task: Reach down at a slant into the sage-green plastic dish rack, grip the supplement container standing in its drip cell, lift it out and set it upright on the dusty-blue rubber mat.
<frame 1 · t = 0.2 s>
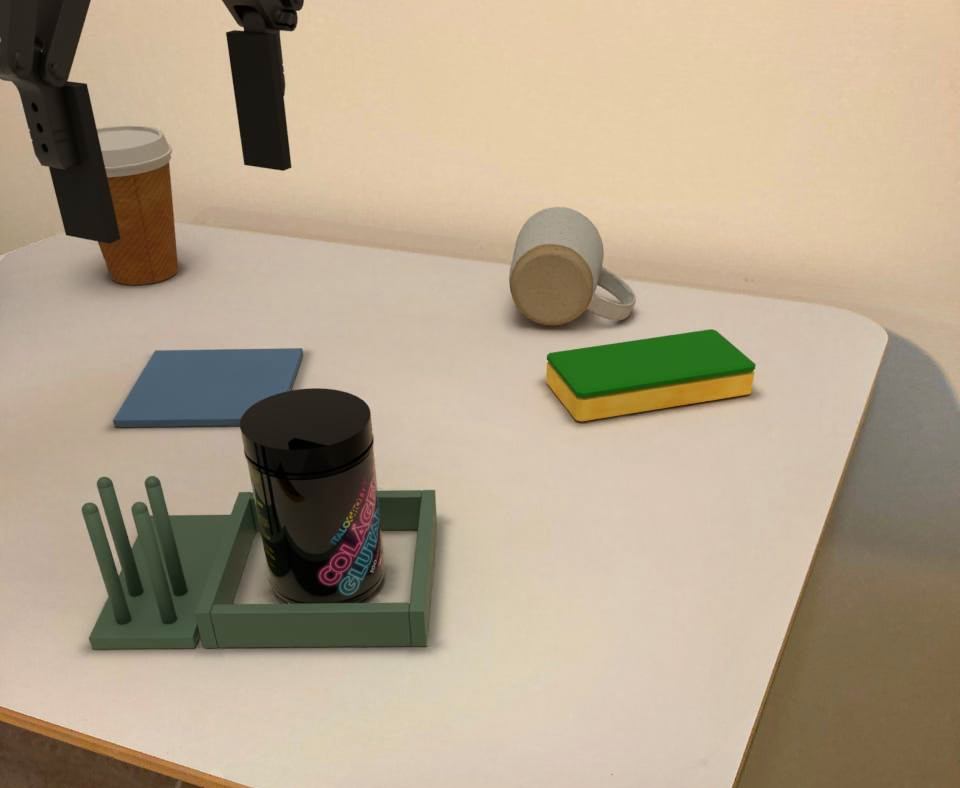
hand: (188, 199, 53), 19 cm above the table, tool pointing down, fingers open, 13 cm apart
blue mat: (214, 389, 80), on the table
supplement container: (329, 583, 60), on the table
dish rack: (328, 580, 60), on the table
disposable coffee cup: (145, 275, 99), on the table
ceramic mug: (570, 313, 90), on the table
dish sponge: (647, 391, 78), on the table
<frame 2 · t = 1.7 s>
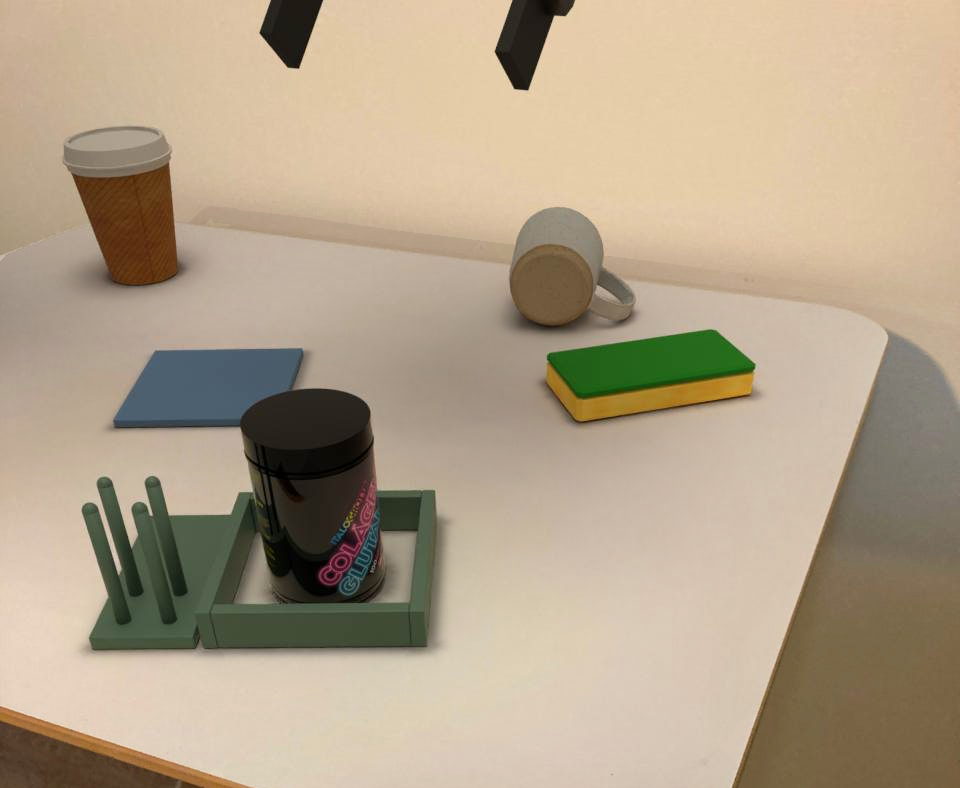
hand: (389, 62, 51), 25 cm above the table, tool tilted 45°, fingers open, 13 cm apart
nothing on the table moved.
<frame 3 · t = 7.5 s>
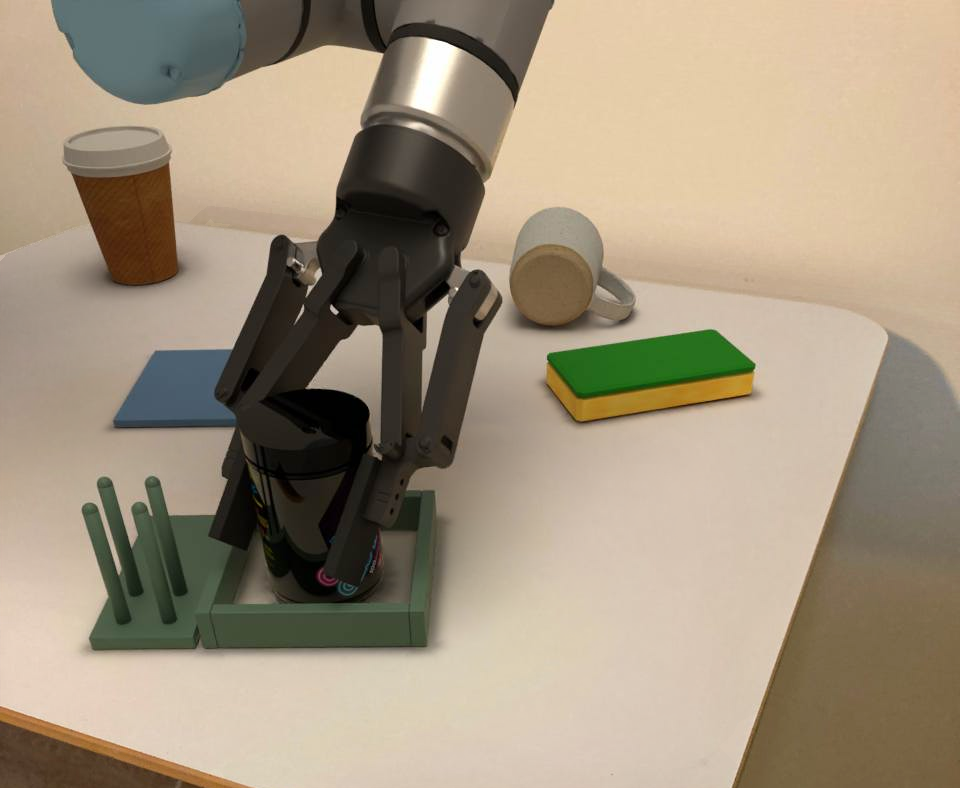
hand: (282, 561, 55), 4 cm above the table, tool tilted 45°, fingers closed on supplement container, 7 cm apart
supplement container: (328, 583, 60), on the table, touching gripper
everything else where it was.
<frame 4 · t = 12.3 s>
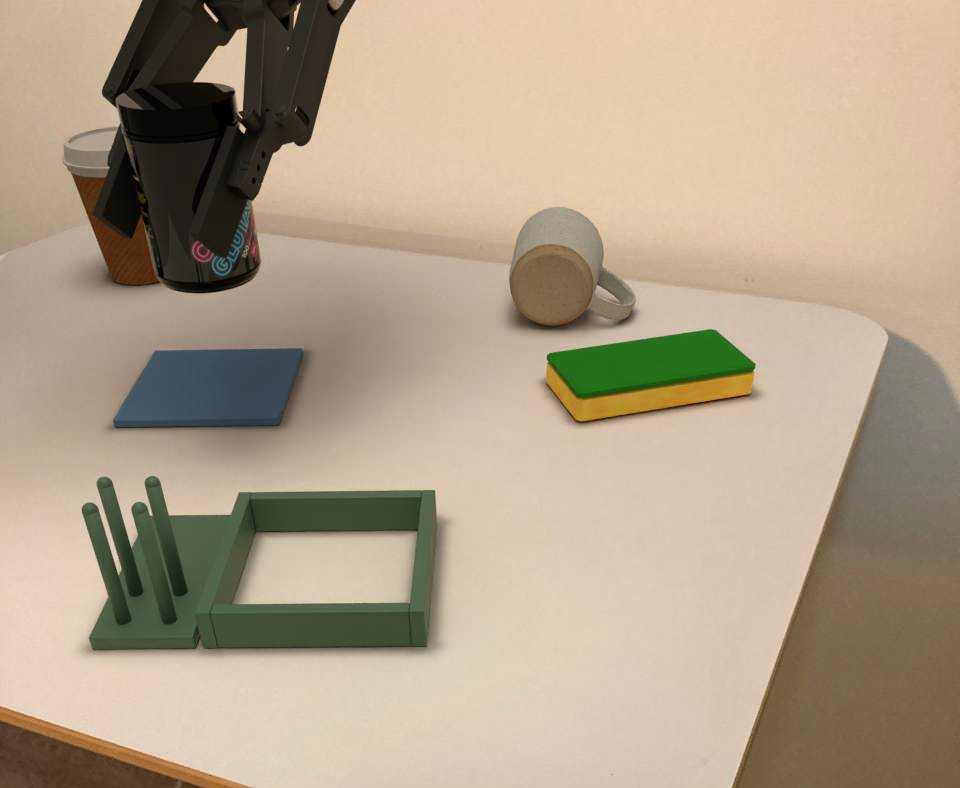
hand: (159, 235, 61), 15 cm above the table, tool tilted 45°, fingers closed on supplement container, 7 cm apart
supplement container: (210, 279, 66), point 11 cm above the table, touching gripper
everything else where it was.
when the fingers open (4 cm above the table, at t = 16.9 s): supplement container stays where it is, resting on blue mat.
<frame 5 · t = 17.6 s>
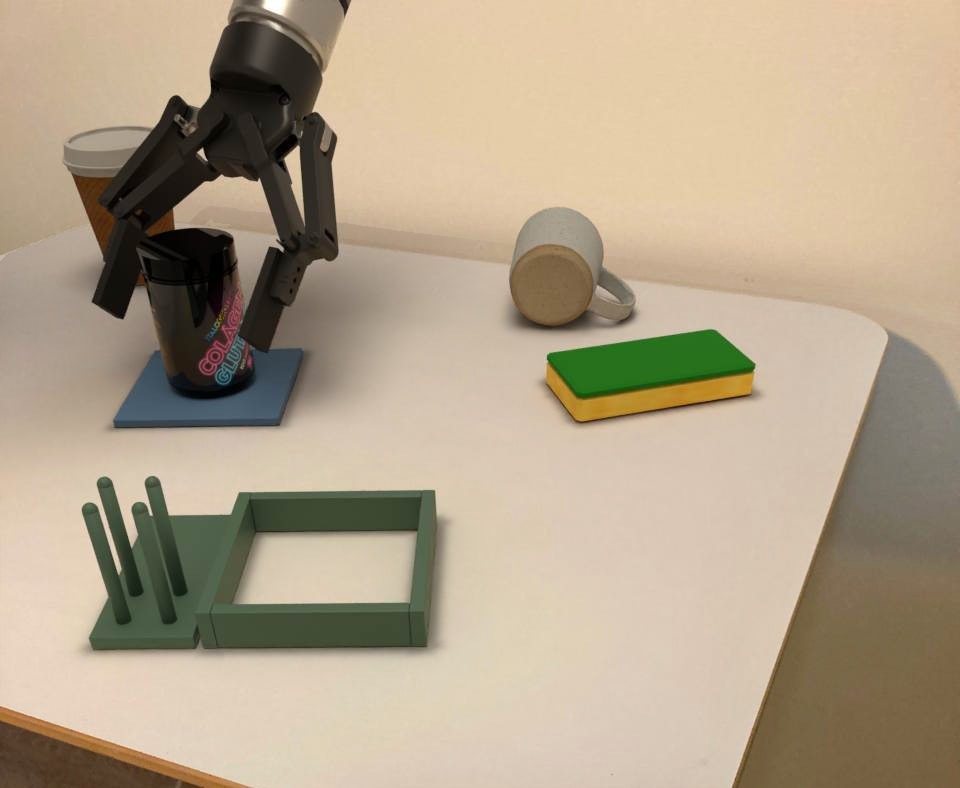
hand: (177, 327, 74), 6 cm above the table, tool tilted 45°, fingers open, 13 cm apart
supplement container: (213, 384, 79), resting on blue mat
everything else where it was.
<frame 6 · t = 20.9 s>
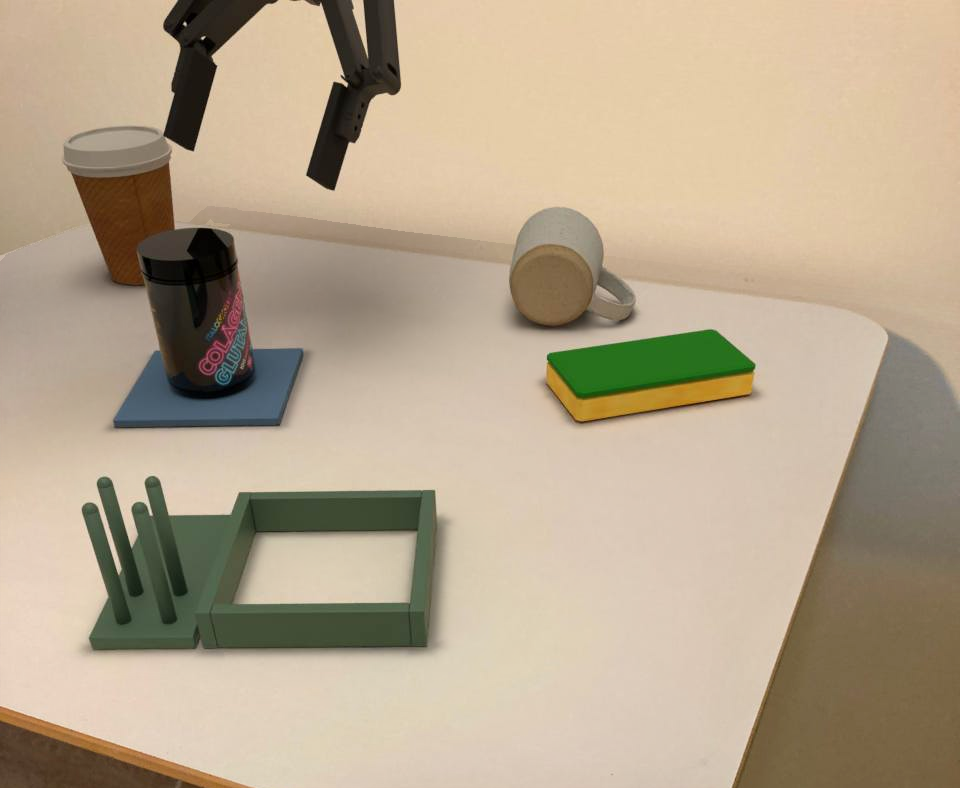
hand: (247, 163, 77), 14 cm above the table, tool tilted 35°, fingers open, 13 cm apart
nothing on the table moved.
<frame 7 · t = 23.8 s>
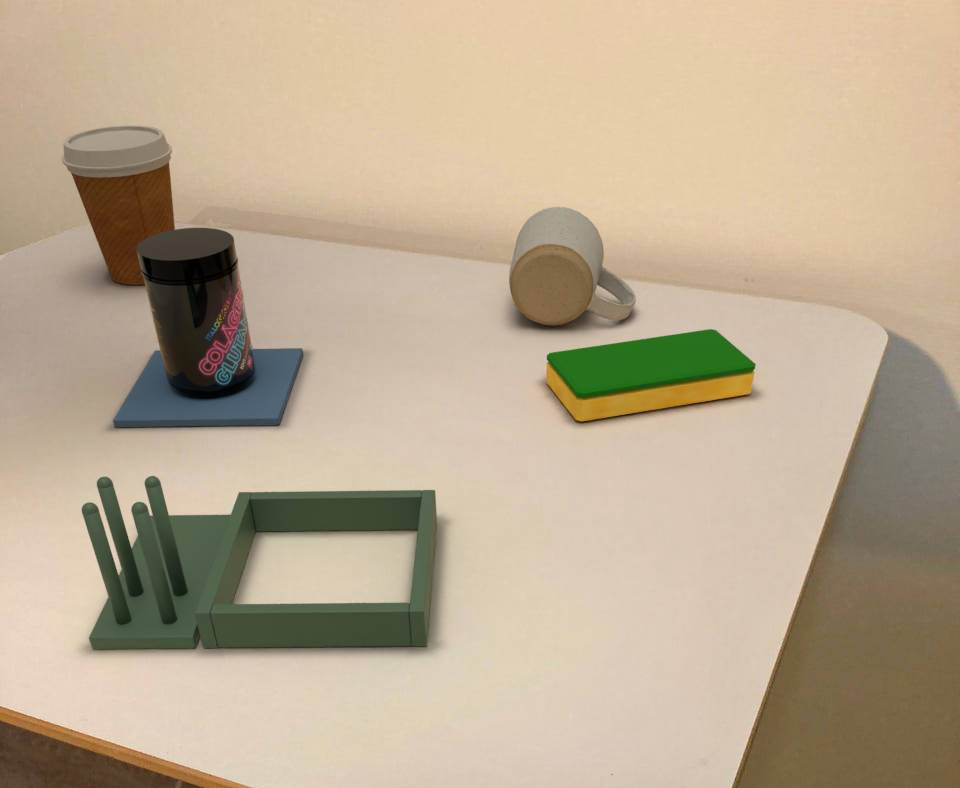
nothing on the table moved.
at the end: supplement container inside the target area on the blue mat (0.0 cm from its centre), point 0.4 cm above the blue mat's base; supplement container tilted 0° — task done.
